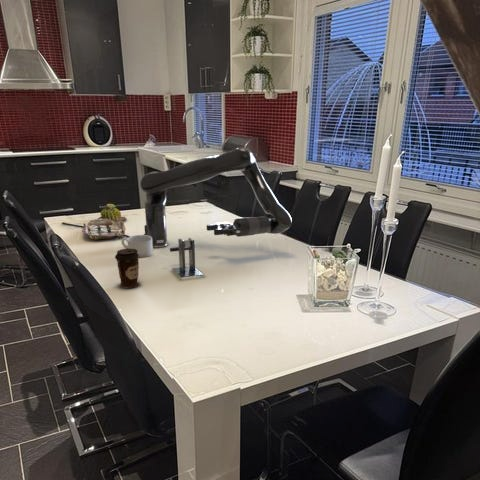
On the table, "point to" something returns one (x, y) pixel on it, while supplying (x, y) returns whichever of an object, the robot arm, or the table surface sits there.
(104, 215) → the cactus
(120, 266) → the coffee cup
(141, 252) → the teacup
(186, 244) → the lever
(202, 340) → the table surface
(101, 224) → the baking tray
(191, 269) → the bracket
